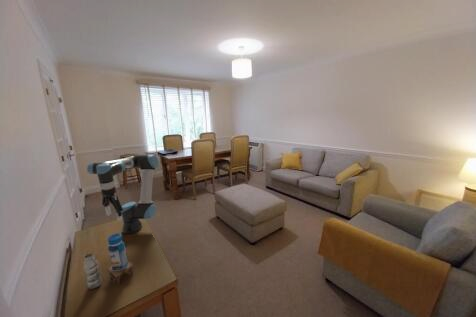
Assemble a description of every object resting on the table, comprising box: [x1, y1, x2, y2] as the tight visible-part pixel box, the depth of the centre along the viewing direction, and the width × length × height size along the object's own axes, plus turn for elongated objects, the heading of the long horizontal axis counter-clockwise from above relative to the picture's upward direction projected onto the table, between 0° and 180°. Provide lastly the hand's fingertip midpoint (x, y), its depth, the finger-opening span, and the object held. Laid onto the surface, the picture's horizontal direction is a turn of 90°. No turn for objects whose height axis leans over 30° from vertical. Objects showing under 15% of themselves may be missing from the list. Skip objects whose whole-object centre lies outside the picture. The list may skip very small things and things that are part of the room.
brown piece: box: [106, 259, 134, 286], centre depth 118 cm, size 10×10×7 cm
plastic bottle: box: [83, 253, 103, 290], centre depth 111 cm, size 6×7×20 cm
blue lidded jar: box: [107, 233, 129, 271], centre depth 115 cm, size 8×8×20 cm
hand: (114, 217), depth 129 cm, fingers open, 13 cm apart
